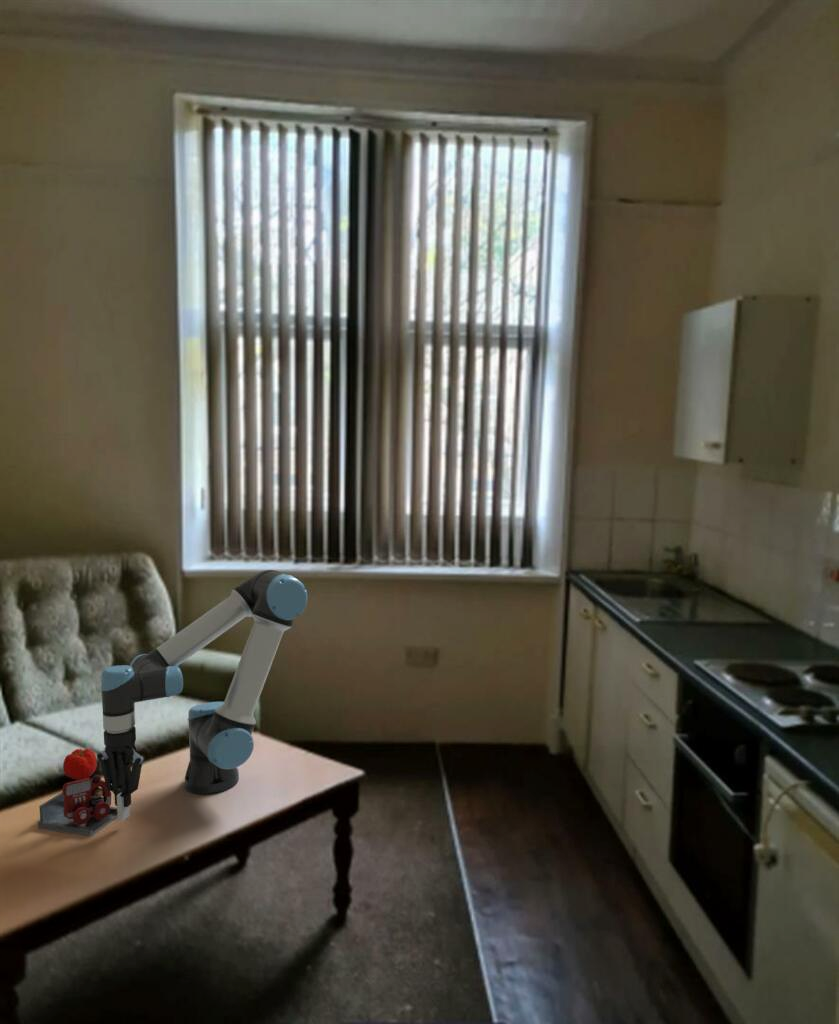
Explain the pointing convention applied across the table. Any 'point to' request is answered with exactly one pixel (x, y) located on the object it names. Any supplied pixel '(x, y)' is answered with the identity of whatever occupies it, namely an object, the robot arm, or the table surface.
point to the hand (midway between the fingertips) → (123, 817)
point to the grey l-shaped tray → (58, 822)
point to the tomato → (80, 764)
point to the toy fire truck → (86, 799)
